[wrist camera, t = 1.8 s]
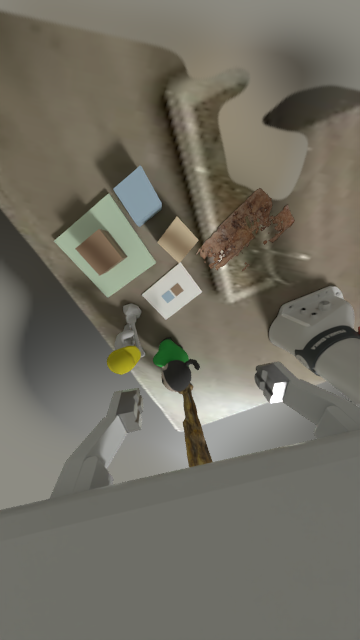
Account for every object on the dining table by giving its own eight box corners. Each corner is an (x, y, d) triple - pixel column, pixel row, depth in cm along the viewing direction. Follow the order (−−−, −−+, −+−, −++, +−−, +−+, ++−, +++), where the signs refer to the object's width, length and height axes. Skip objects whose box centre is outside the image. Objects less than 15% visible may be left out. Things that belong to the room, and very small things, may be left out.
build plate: (110, 194, 28) (108, 193, 27) (156, 262, 34) (156, 262, 33) (57, 241, 30) (53, 240, 29) (109, 296, 36) (107, 297, 35)
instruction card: (180, 262, 34) (180, 262, 34) (201, 291, 38) (202, 291, 38) (141, 294, 37) (141, 294, 36) (165, 319, 40) (165, 320, 40)
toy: (149, 346, 44) (144, 390, 30) (176, 321, 41) (183, 357, 28) (173, 362, 47) (178, 408, 34) (199, 340, 45) (215, 380, 31)
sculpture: (171, 386, 52) (183, 534, 26) (183, 375, 51) (208, 521, 24) (186, 393, 55) (210, 534, 28) (197, 383, 53) (235, 523, 26)
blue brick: (143, 178, 27) (140, 165, 23) (161, 209, 30) (161, 203, 25) (120, 197, 28) (112, 189, 24) (139, 226, 31) (135, 223, 26)
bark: (268, 170, 29) (270, 169, 28) (294, 220, 33) (297, 219, 33) (190, 260, 35) (190, 260, 34) (221, 292, 39) (222, 292, 39)
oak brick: (174, 220, 31) (176, 216, 26) (193, 240, 33) (198, 240, 28) (157, 242, 32) (157, 242, 28) (176, 260, 34) (179, 263, 30)
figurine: (160, 323, 41) (159, 361, 27) (137, 344, 43) (127, 388, 30) (129, 298, 37) (112, 329, 23) (107, 322, 39) (79, 363, 26)
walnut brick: (108, 231, 29) (99, 228, 25) (127, 256, 32) (122, 258, 27) (87, 248, 30) (75, 248, 26) (107, 271, 33) (99, 275, 28)
